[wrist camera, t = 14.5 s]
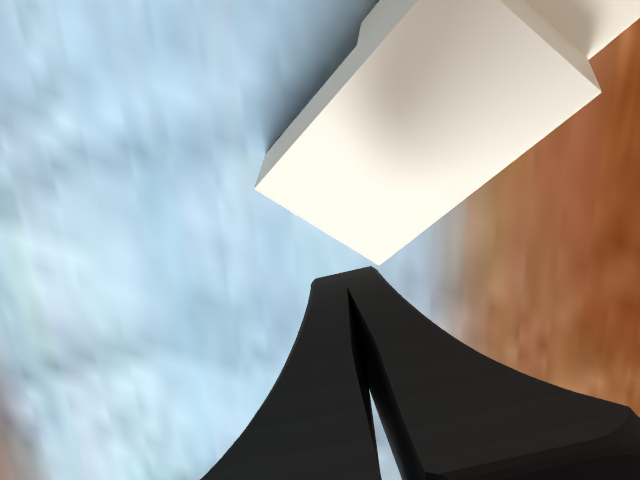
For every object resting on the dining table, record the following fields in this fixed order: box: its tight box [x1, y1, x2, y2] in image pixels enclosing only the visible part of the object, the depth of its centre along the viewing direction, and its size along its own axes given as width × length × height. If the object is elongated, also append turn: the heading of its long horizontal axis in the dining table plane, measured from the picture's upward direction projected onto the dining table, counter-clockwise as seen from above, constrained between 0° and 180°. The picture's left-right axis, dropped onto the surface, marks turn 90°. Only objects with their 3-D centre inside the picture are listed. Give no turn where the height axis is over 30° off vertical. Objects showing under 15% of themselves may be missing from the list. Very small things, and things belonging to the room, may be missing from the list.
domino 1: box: [254, 0, 602, 265], centre depth 15 cm, size 2×4×8 cm
